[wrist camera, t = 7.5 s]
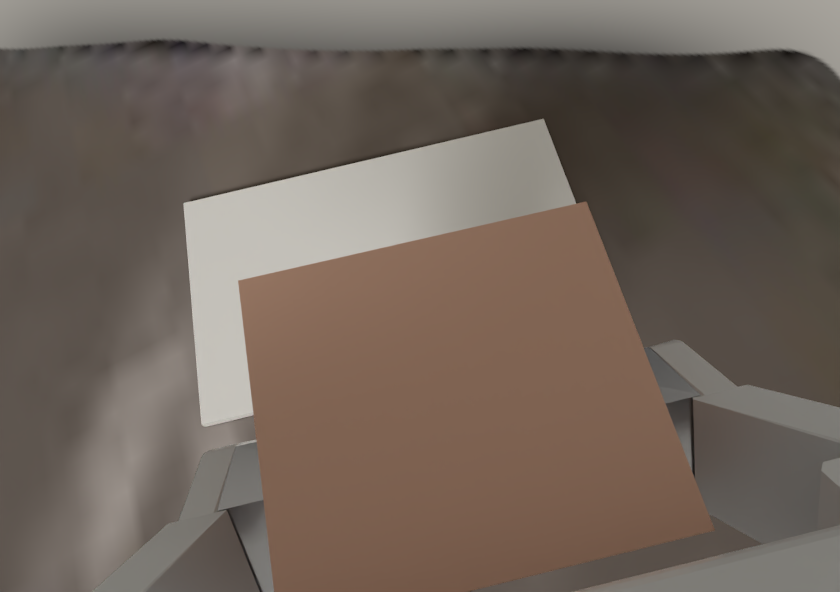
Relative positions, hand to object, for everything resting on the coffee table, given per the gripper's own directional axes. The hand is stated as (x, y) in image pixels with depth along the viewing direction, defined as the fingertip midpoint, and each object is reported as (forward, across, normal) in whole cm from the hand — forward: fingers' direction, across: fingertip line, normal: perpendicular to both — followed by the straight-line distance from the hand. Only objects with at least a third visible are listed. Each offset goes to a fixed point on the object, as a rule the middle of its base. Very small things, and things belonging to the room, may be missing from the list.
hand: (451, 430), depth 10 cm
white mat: (+18, 0, +3) cm, 18 cm away
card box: (+5, 0, +5) cm, 7 cm away
